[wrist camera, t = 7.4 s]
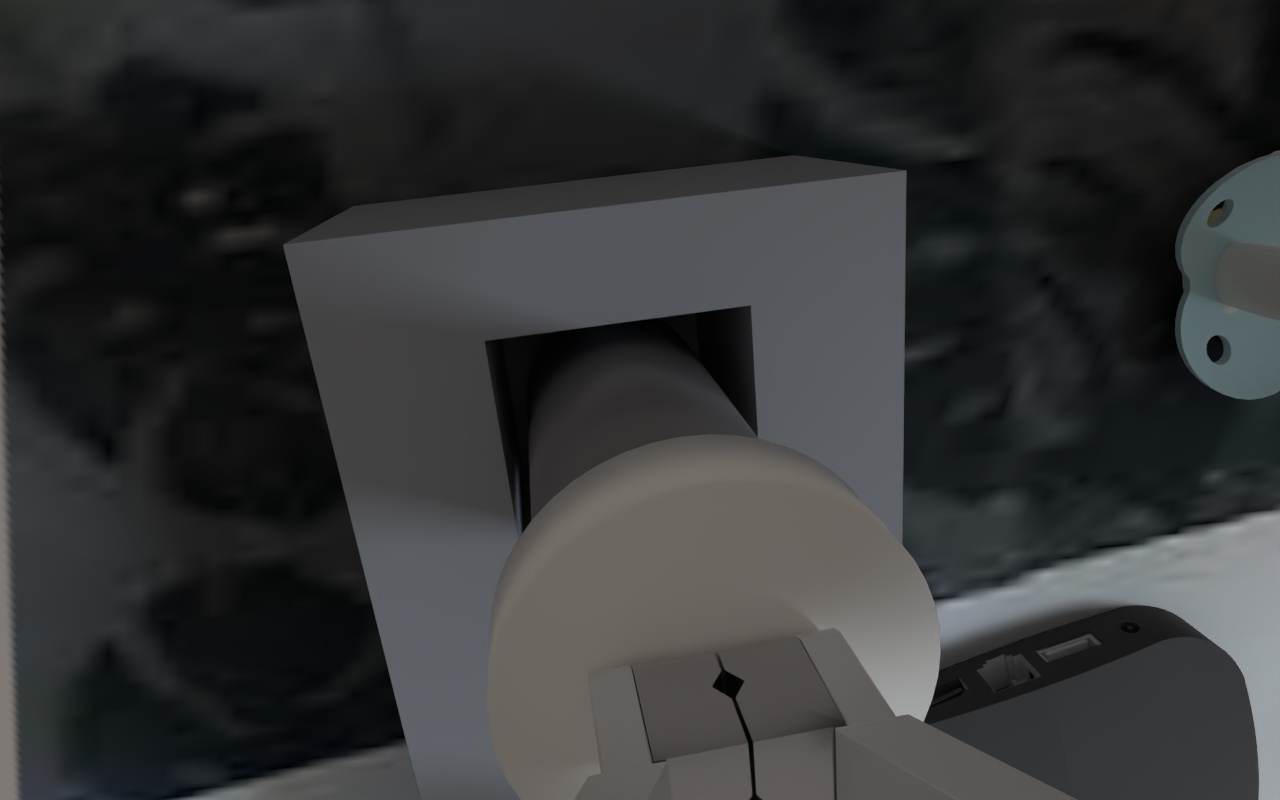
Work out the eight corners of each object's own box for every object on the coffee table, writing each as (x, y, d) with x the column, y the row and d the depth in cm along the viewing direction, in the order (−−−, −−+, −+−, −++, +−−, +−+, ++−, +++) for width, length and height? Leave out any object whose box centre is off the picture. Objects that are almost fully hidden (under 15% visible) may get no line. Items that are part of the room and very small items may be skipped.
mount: (793, 155, 23) (906, 170, 16) (814, 772, 30) (898, 954, 24) (353, 205, 21) (282, 244, 15) (489, 835, 29) (481, 1045, 22)
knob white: (715, 269, 20) (947, 445, 9) (729, 477, 22) (934, 822, 11) (484, 299, 19) (446, 523, 9) (520, 509, 21) (524, 906, 11)
